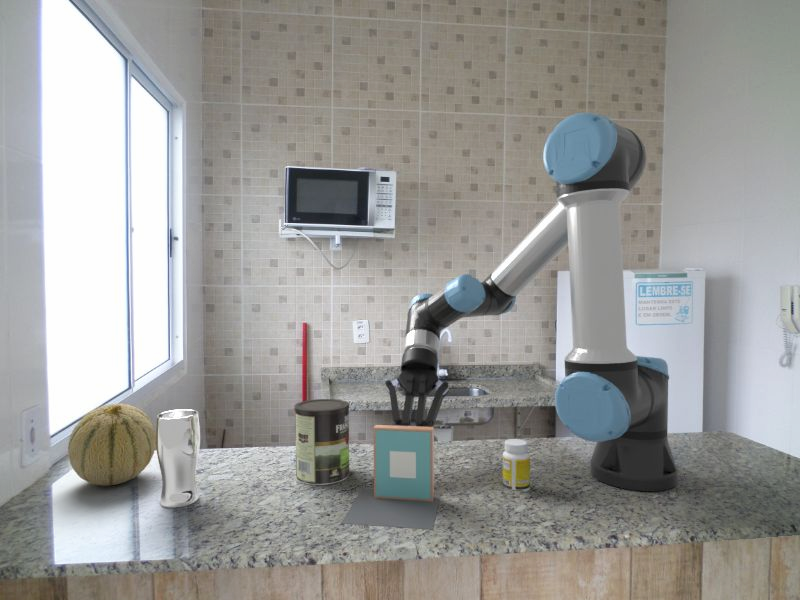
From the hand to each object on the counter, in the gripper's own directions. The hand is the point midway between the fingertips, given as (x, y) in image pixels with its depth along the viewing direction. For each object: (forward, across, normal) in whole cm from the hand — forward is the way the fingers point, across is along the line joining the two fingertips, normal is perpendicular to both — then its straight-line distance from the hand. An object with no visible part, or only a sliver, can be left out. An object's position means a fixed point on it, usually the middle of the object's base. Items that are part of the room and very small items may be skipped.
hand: (408, 461), depth 97 cm
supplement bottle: (+2, -19, -5) cm, 20 cm away
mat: (+11, +1, +4) cm, 11 cm away
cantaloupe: (+8, +55, +1) cm, 55 cm away
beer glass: (+12, +38, +5) cm, 40 cm away
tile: (+7, 0, +2) cm, 7 cm away
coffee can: (+2, +17, -5) cm, 18 cm away
